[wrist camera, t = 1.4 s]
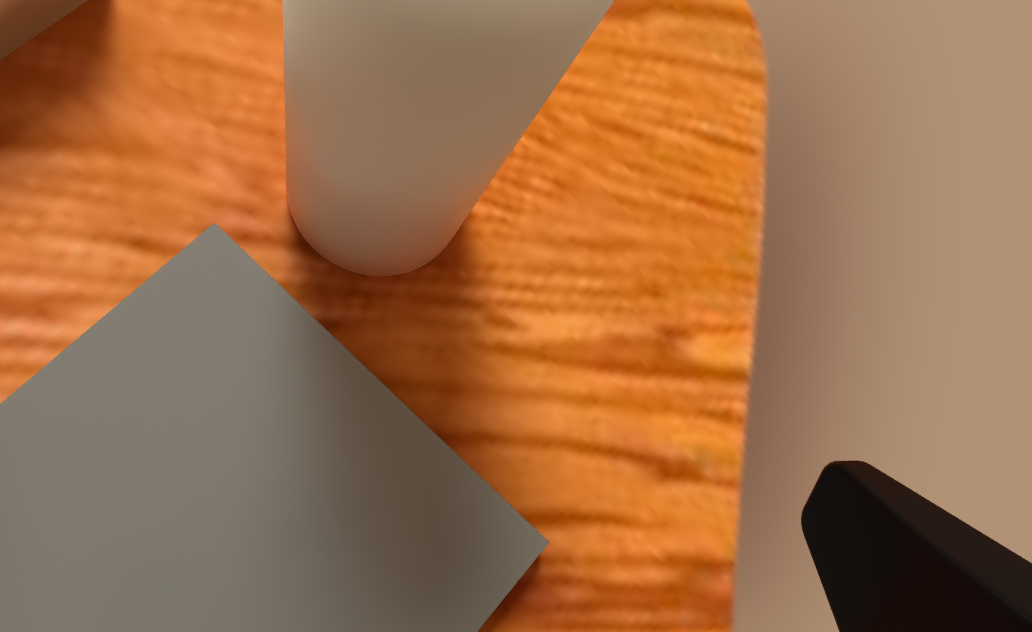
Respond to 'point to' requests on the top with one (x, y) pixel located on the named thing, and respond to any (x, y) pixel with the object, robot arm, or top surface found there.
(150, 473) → the slate board
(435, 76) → the cream bottle
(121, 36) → the top surface
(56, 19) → the birch block
